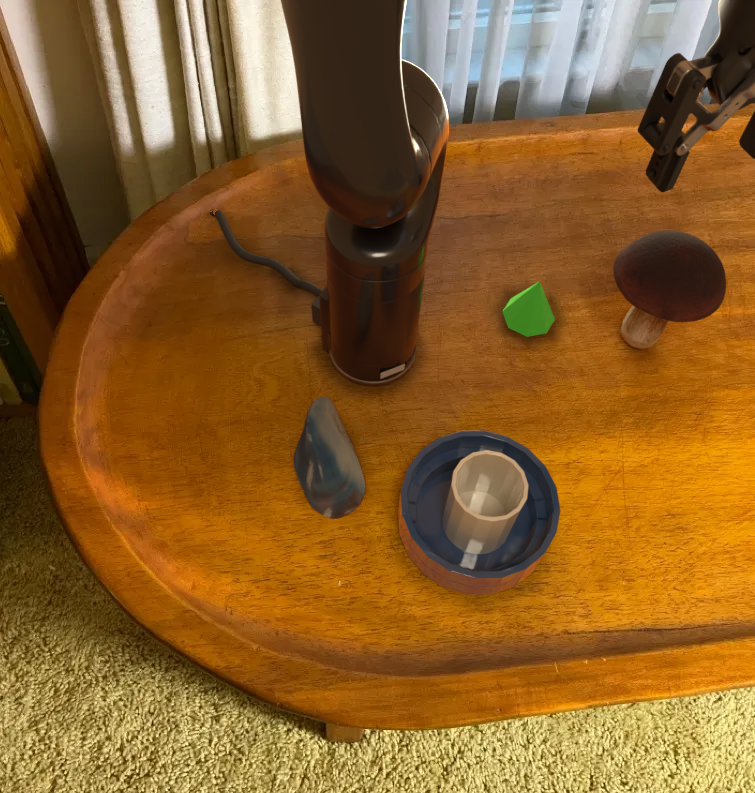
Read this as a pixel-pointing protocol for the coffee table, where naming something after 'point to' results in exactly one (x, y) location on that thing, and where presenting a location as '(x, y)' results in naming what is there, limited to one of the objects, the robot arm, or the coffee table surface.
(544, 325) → the gemstone
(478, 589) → the bowl
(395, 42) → the robot arm
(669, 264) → the decorative mushroom
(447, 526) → the cup
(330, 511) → the seashell
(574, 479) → the coffee table surface
